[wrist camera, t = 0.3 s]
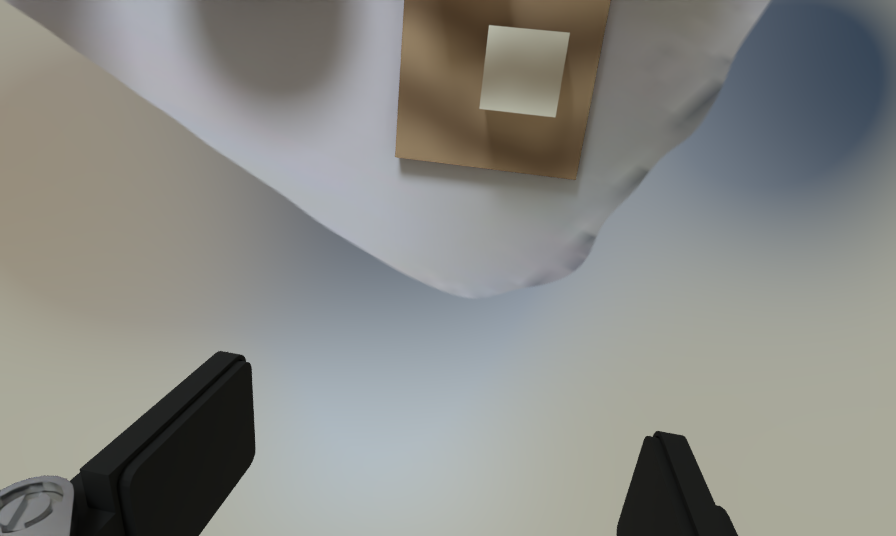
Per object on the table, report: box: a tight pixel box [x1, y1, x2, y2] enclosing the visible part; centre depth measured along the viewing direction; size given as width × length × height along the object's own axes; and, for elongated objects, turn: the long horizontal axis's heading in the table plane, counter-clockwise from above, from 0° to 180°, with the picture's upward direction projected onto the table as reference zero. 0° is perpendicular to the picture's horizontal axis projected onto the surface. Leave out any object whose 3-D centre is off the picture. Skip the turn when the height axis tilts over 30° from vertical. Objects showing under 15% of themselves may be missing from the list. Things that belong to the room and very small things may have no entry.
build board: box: [395, 0, 611, 180], centre depth 33 cm, size 20×14×5 cm
